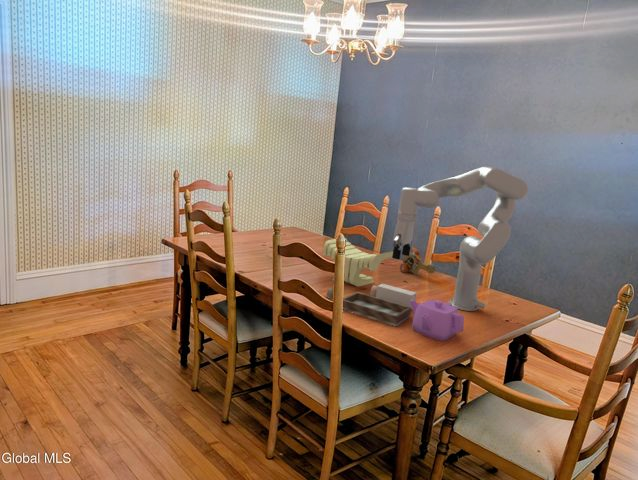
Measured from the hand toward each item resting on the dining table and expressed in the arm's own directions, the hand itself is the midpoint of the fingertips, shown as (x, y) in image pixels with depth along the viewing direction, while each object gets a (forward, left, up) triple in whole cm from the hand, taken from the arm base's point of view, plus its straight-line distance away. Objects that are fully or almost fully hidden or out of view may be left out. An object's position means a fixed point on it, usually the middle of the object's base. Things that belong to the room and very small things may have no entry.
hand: (400, 256), depth 204 cm
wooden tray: (+1, +17, -21) cm, 27 cm away
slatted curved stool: (+28, -14, -21) cm, 38 cm away
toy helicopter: (+11, -51, -21) cm, 57 cm away
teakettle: (-24, +18, -21) cm, 37 cm away
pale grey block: (+1, +1, -21) cm, 21 cm away
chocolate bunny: (+22, +15, -21) cm, 34 cm away
